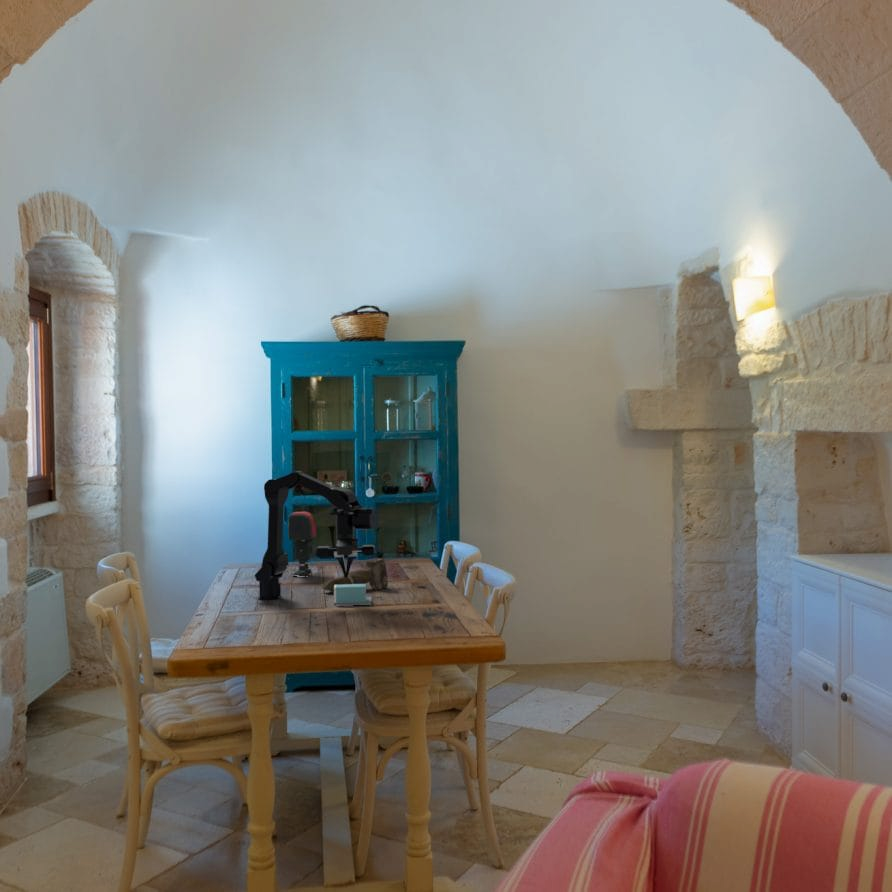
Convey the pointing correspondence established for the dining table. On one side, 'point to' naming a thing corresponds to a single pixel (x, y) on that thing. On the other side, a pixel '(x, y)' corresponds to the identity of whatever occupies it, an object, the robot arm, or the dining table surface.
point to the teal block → (349, 593)
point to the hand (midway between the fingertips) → (346, 577)
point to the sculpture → (363, 576)
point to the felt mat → (368, 602)
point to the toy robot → (302, 538)
